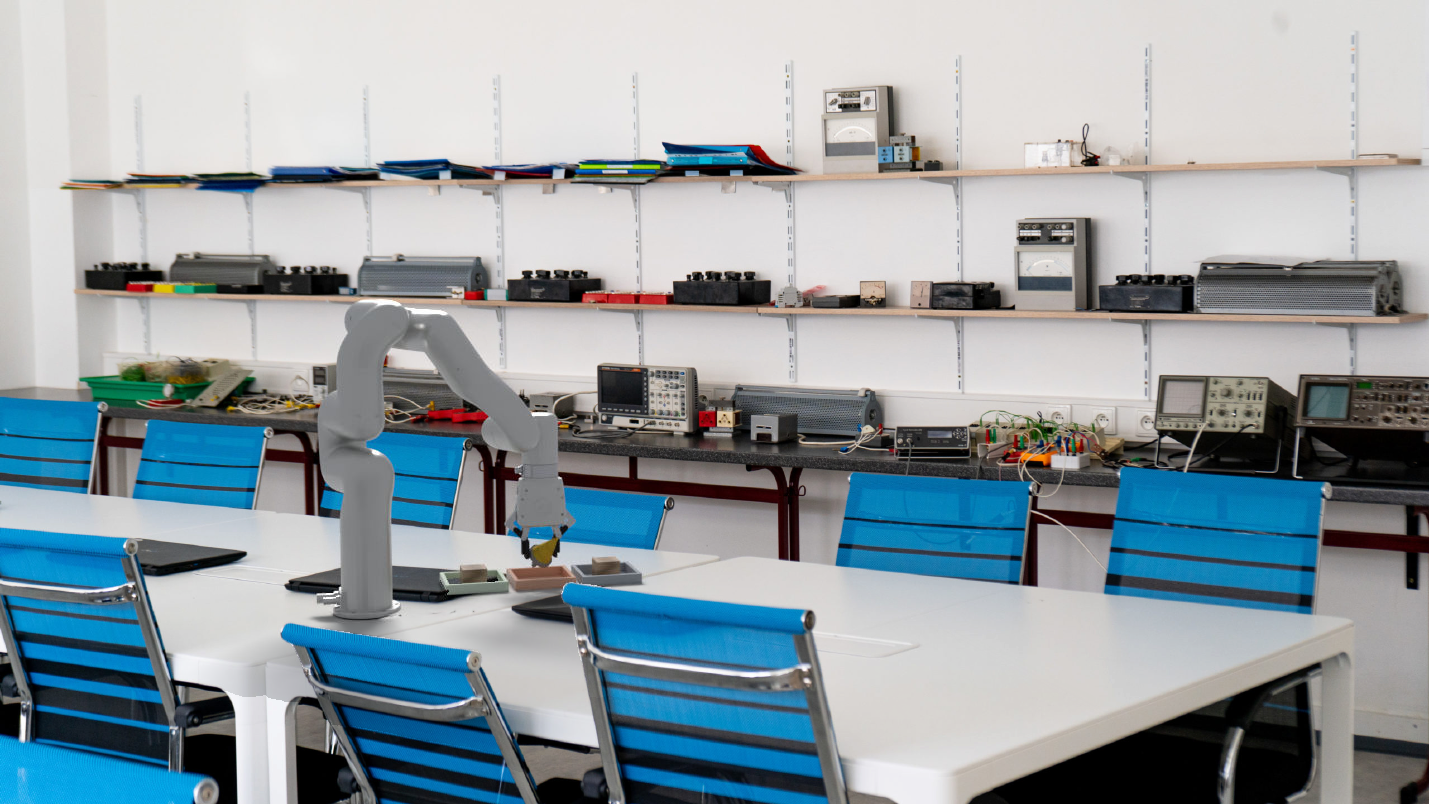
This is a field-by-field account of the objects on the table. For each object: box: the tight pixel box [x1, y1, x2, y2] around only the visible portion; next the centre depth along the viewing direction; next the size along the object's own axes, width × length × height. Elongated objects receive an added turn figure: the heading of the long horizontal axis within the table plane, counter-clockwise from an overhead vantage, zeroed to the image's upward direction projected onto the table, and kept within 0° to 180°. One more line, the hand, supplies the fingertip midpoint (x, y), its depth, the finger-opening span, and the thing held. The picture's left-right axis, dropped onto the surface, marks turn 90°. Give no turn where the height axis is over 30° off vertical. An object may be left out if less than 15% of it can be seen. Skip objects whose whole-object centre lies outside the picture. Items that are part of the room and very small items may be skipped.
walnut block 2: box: [591, 556, 621, 576], centre depth 282 cm, size 5×5×4 cm
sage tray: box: [439, 568, 510, 596], centre depth 273 cm, size 13×13×2 cm
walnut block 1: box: [459, 563, 488, 584], centre depth 273 cm, size 5×5×4 cm
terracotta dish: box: [505, 564, 577, 592], centre depth 278 cm, size 13×13×2 cm
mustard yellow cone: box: [530, 537, 558, 568], centre depth 277 cm, size 5×5×10 cm
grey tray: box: [570, 561, 643, 586], centre depth 282 cm, size 13×13×2 cm
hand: (540, 556), depth 277 cm, fingers closed on mustard yellow cone, 5 cm apart
